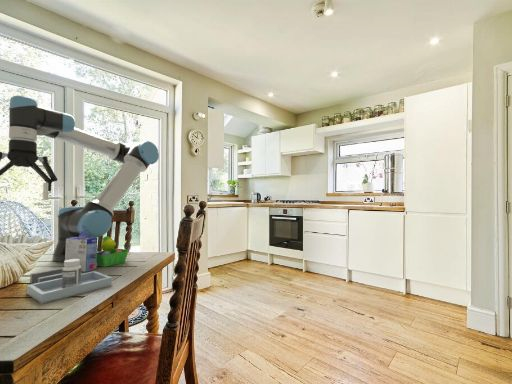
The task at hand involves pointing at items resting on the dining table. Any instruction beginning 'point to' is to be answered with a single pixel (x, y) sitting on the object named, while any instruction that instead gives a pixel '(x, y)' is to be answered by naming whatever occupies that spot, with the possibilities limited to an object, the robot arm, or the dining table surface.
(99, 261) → the fruit basket
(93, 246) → the ink cartridge box
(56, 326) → the dining table surface
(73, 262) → the pill bottle
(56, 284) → the parts tray
